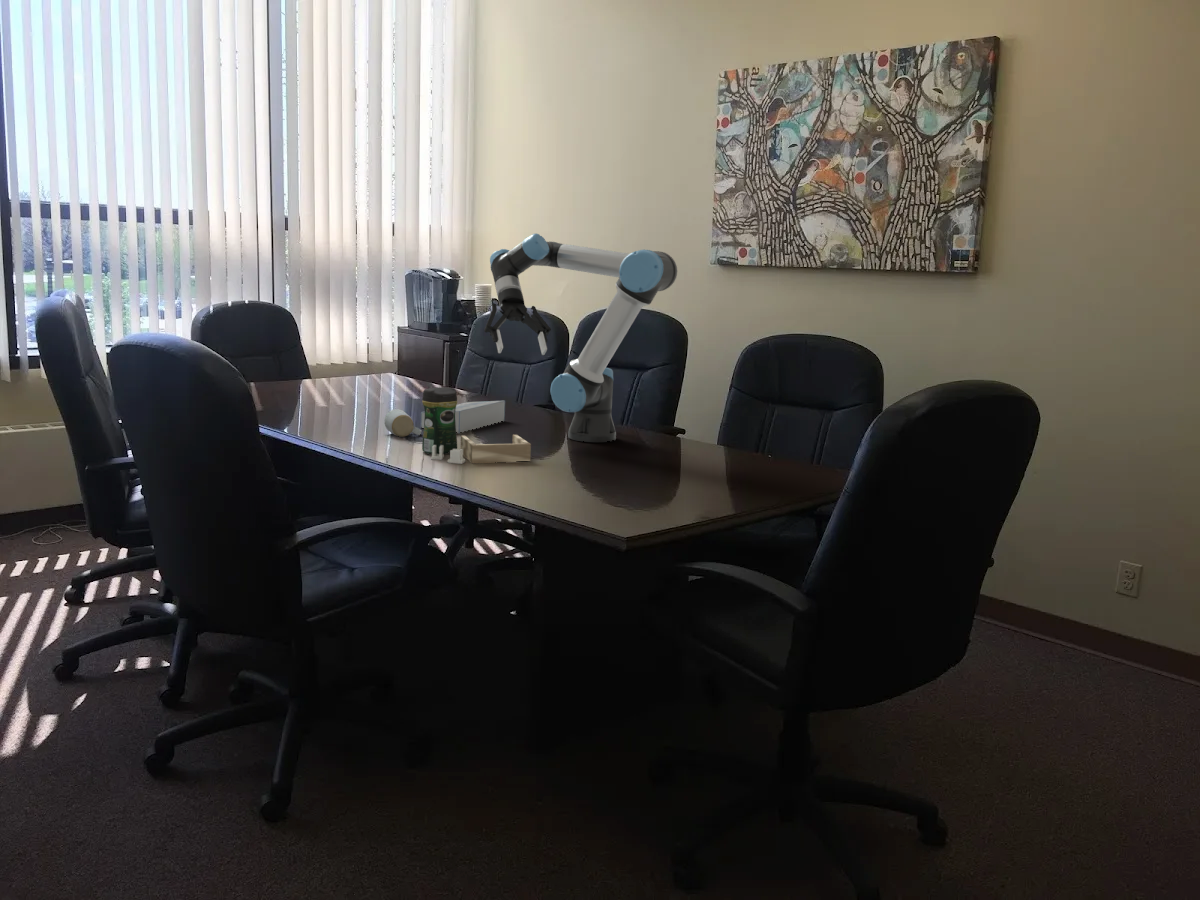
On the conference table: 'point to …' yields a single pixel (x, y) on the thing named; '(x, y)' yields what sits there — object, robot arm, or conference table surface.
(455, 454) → the cable clips
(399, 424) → the ceramic mug
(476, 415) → the white bar
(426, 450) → the coffee jar
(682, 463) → the conference table surface
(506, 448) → the wooden u-shaped piece
